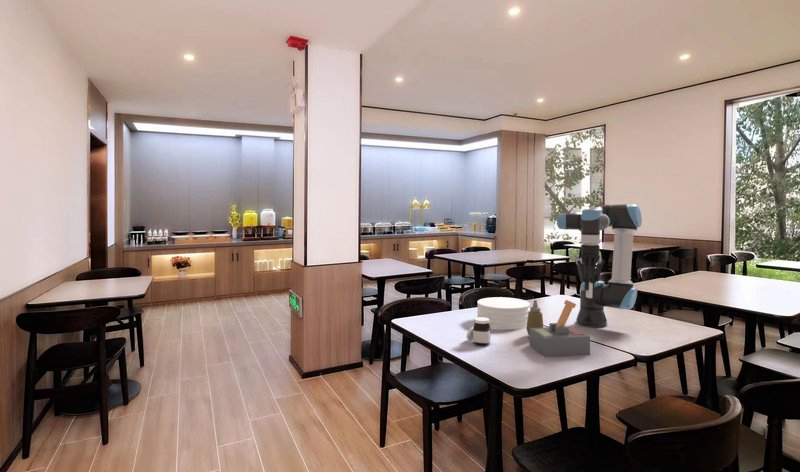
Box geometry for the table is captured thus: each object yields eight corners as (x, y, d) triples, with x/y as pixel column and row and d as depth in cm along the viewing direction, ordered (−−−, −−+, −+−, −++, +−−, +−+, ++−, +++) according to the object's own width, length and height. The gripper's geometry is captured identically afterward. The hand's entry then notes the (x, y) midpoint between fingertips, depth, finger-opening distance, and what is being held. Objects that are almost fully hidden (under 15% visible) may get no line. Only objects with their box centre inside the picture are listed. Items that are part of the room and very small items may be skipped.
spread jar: (488, 347, 191) (488, 322, 190) (463, 345, 195) (463, 320, 194) (492, 340, 202) (492, 316, 201) (468, 337, 206) (468, 314, 205)
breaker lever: (558, 331, 188) (571, 302, 188) (562, 333, 184) (576, 304, 184) (552, 328, 188) (565, 299, 188) (556, 331, 184) (570, 301, 184)
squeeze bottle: (534, 340, 201) (535, 302, 200) (522, 335, 208) (523, 299, 207) (547, 337, 205) (547, 301, 204) (534, 333, 212) (535, 298, 211)
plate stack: (540, 324, 229) (540, 303, 228) (505, 333, 213) (505, 310, 213) (501, 314, 252) (501, 295, 252) (466, 321, 237) (466, 301, 236)
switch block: (570, 343, 196) (571, 319, 195) (589, 354, 180) (590, 329, 179) (529, 345, 194) (529, 321, 193) (545, 357, 178) (545, 331, 177)
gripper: (599, 243, 190) (598, 295, 191) (571, 243, 189) (570, 296, 190) (609, 244, 183) (607, 298, 184) (580, 245, 181) (579, 299, 182)
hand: (589, 297), depth 187 cm, fingers closed
